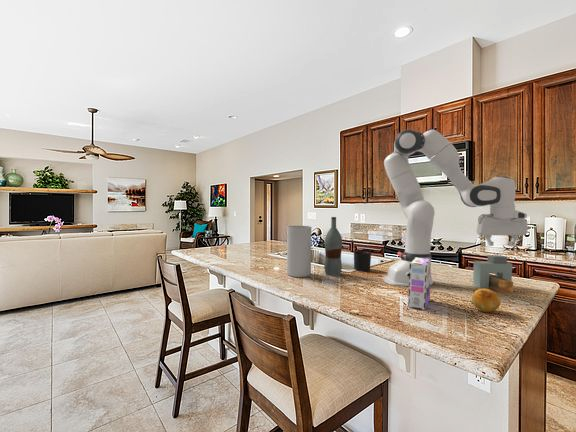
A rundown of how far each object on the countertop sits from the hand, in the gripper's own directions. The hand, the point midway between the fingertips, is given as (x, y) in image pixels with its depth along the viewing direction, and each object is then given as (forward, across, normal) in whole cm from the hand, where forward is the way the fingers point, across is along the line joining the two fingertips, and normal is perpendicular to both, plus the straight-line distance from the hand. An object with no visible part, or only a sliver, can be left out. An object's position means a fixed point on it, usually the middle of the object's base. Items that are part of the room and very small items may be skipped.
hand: (501, 245), depth 131 cm
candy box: (+19, -44, -19) cm, 52 cm away
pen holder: (+19, -51, +37) cm, 66 cm away
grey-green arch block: (+19, 0, +4) cm, 20 cm away
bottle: (+19, -70, +26) cm, 77 cm away
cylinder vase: (+19, -88, +25) cm, 93 cm away
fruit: (+20, -24, -26) cm, 41 cm away
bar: (+20, 0, +4) cm, 20 cm away
